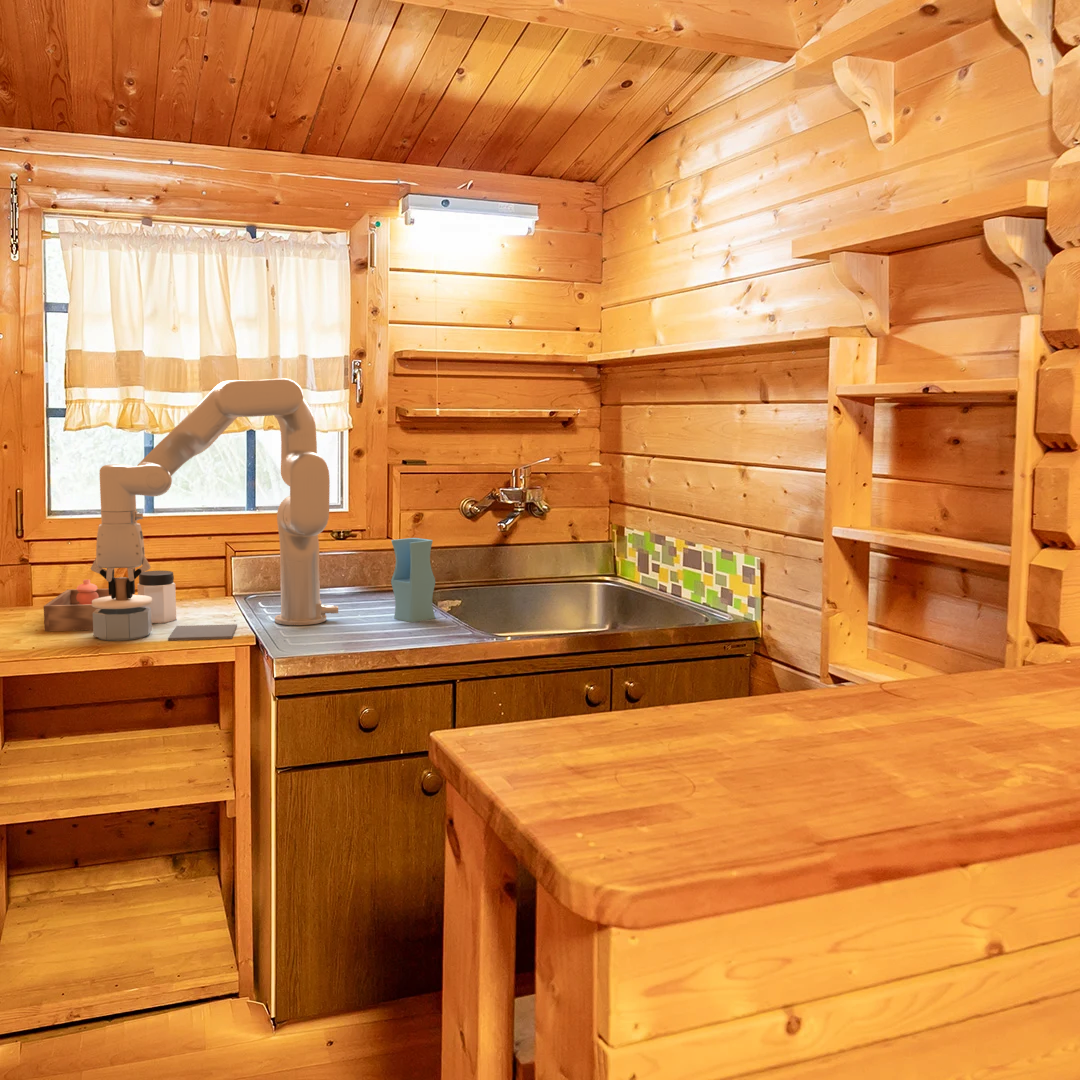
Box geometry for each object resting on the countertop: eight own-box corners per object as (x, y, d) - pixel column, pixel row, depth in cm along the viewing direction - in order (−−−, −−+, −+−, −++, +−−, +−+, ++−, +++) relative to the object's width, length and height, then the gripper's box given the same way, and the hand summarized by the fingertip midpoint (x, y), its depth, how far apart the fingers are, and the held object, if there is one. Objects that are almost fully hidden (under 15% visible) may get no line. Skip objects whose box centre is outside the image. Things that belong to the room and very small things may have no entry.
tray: (125, 611, 285) (124, 588, 284) (107, 629, 261) (106, 604, 261) (68, 612, 282) (67, 589, 281) (44, 631, 259) (43, 606, 258)
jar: (180, 621, 272) (179, 573, 271) (147, 625, 267) (146, 576, 266) (167, 615, 279) (165, 569, 278) (135, 619, 274) (133, 572, 272)
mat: (236, 626, 266) (236, 624, 266) (231, 638, 252) (231, 636, 252) (176, 628, 263) (176, 625, 263) (168, 640, 250) (168, 637, 250)
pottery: (96, 629, 262) (94, 589, 261) (54, 630, 260) (52, 590, 259) (111, 615, 279) (109, 577, 278) (71, 616, 278) (70, 578, 276)
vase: (391, 618, 279) (390, 540, 276) (415, 614, 284) (414, 537, 282) (411, 622, 273) (411, 542, 271) (435, 618, 279) (435, 540, 277)
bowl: (154, 629, 261) (153, 605, 261) (145, 640, 250) (145, 614, 249) (101, 631, 259) (100, 606, 258) (90, 641, 247) (89, 615, 247)
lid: (155, 598, 261) (155, 573, 260) (147, 608, 248) (146, 581, 248) (98, 599, 259) (97, 574, 258) (86, 609, 246) (85, 583, 245)
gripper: (158, 516, 256) (161, 594, 259) (85, 517, 253) (88, 595, 256) (153, 519, 249) (156, 599, 251) (77, 520, 246) (81, 601, 248)
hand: (122, 596), depth 253 cm, fingers closed on lid, 2 cm apart
